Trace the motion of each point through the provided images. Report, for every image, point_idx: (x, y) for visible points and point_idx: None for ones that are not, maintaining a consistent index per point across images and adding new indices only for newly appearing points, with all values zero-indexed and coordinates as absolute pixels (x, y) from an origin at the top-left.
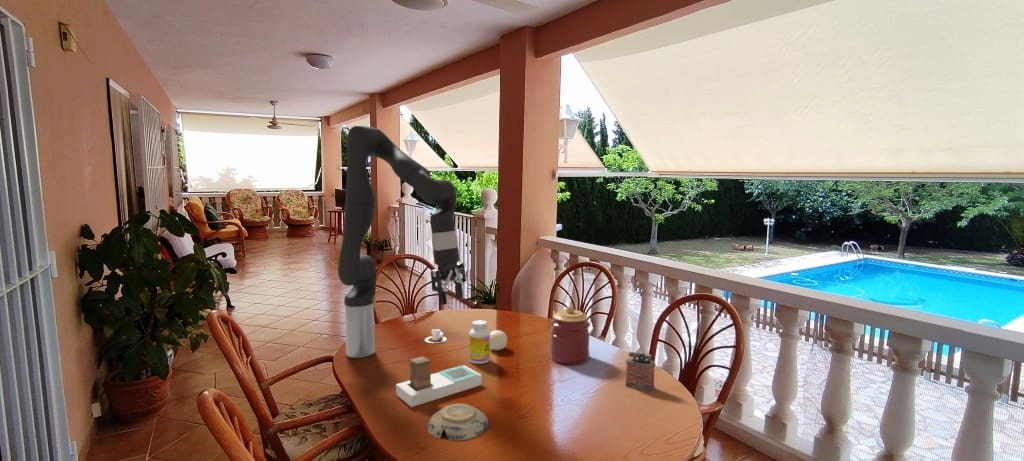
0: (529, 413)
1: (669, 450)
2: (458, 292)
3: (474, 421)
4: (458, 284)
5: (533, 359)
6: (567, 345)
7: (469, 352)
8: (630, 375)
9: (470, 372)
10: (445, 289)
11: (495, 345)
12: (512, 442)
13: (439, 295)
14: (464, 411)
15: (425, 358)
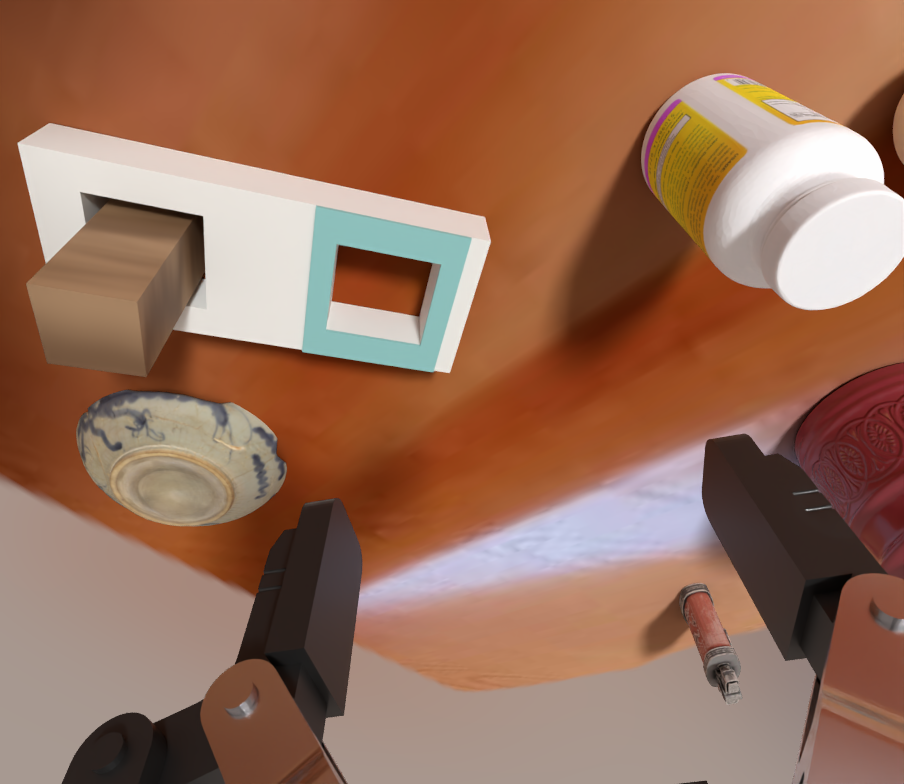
0: (390, 531)
1: (450, 684)
2: (739, 529)
3: (198, 525)
4: (818, 656)
5: (816, 335)
6: (836, 510)
7: (681, 120)
8: (694, 623)
9: (431, 331)
10: (330, 756)
11: (898, 144)
12: (253, 568)
13: (255, 639)
14: (191, 501)
15: (135, 335)
